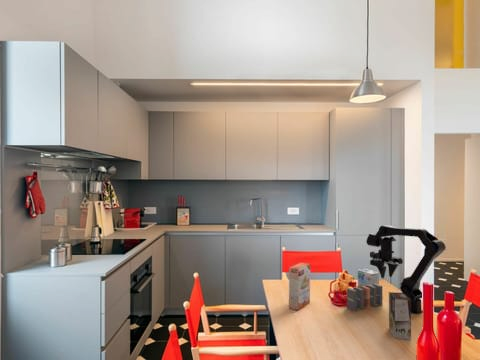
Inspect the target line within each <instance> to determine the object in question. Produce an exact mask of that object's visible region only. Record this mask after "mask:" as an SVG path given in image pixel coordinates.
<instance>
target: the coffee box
mask: <svg viewBox="0 0 480 360" xmlns="http://www.w3.org/2000/svg"><path fill="white" fill-rule="evenodd" d="M411 325H412V312H411V300H410V299H409V298H408V297H407V296H406V295H405V294H404V293H402V292H394V291H393V292H392V291H389V292H388V329H389V331H390V333H391V334H392V336H393V338H395V339H398V340H399V339H401V340H410V341H411V340H412V326H411Z"/></svg>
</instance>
